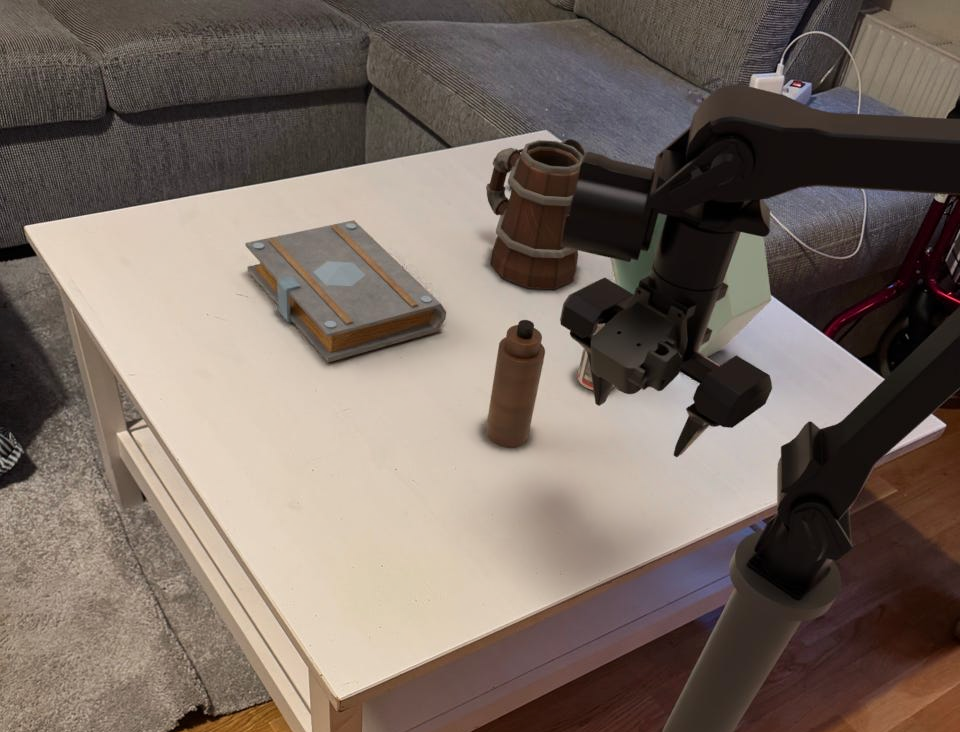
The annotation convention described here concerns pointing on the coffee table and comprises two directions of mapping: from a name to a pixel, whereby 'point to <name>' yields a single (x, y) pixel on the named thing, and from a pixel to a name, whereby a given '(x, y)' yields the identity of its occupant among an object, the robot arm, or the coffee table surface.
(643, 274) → the planter
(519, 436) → the pepper mill
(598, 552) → the coffee table surface
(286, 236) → the book
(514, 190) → the mug
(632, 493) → the coffee table surface
